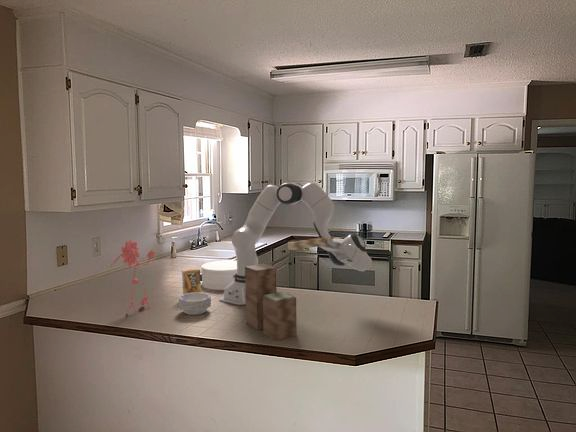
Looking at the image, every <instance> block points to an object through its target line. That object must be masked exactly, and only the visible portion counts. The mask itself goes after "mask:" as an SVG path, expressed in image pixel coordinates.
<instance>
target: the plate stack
mask: <svg viewBox="0 0 576 432" xmlns="http://www.w3.org/2000/svg"><path fill="white" fill-rule="evenodd" d="M200 268H201V282H202V283H201V287H203V288H205V289H206V290H207V289H208V290H213V291H217V290H218V291H224V290H225V288H226V287H227V286H228V285H229V284H231V283H232V282H233V281H234V279H235V277H234V275H235V274H237V259H235V260H232V259H226V260H225V259H224V260H215V261H209V262H206V263H203V264H202V265H201V267H200ZM233 277H234V278H233Z"/></svg>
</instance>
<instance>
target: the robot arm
mask: <svg viewBox="0 0 576 432" xmlns="http://www.w3.org/2000/svg"><path fill="white" fill-rule="evenodd" d="M300 203H304V204H305V205H306V207H307V208H308V209H309V211H310V212H311V214H312V216H313V227H314V229H315V231H316V233H317V235H318V238H323V237H331V235H330V233H329V229H328V228H329V227H328V226H329V224H330V221H331V219H332V218H333V215H334V213H335V204H334V202H333V200H332V199H331V198H330V196H329V195H328V194H327V193H326V191H325V190H324V189H323V188H322V187H320V186H319V185H318V184H317V183H316V182H308V183H306V184H305V185H302V184H300V183H298V182H294V181H291V182H285V183H282V184H281V185H279V186H277V185H275V184H269V185H266V187H264V189H263V190H261V192H260V193H259V195H258V196H257V198H256V200H255V202H254V203H253V205H252V206H251V208H250V210H249V212H248V215H247V218H246V220H245V222H244V224H243V225H242V226H241V227H240V228H238V229H236V230H235V231H234V232H233V234H232V237H231V244H232V246H233V247H234V252H235V253H234V254H235V258H236V259H235V260H237V274H235V275H234V277H235V279H234V281H233V282H232V283H231V284H229V285H228V286H227V287H226V288H225V290H223V295H222V296H220V297H219V301H220V302H223V303H224V302H225V303H227V304H232V305H237V306H238V305H239V306H242V305H246V292H245V266H251V265H258V264H259V257H258V256H257V251H256V244H259V241H260V240H261V237H263V236H262V235H263V233H265V230H266V228H267V225H268V224H269V222H270V220H271V218H272V217H273V215H274V213H275V212H276V210H277V208H278V207H279V205H281V204H283V205H286V206H292V205H297V204H300ZM326 243H327V244H329V245H324V246H318V247H319V248H321V249H323V250H325V251H326V253H327V255H328V257H329V259H330V262H331V263H332V264H333V265H335V266H340V267H344V266H345V265H348V266H349V267H351V268H353V269H354V270H355V271H359V272H366V271H367V270H369V268H370V267H371V266H372V263H373V259H372V257H371V256H369V255H368V253H367V251H366V242H365V240H364V239H363V237H362V236H360V235H359V234H356V233H350V234H349V235H347V236H346V237H345V238H343V239H342V240H341V241H340V242H338V241H334V240H333V241H331V240H328V239H327V240H326ZM234 277H233V278H234Z"/></svg>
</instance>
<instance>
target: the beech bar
mask: <svg viewBox="0 0 576 432" xmlns="http://www.w3.org/2000/svg"><path fill="white" fill-rule="evenodd" d="M327 239H328V240H331V241H334V240H333V239H334V238H333V237H323V238H320V237H317V238H311V239H303V240H295V241H288V242H287V250H290V251H297V250H302V249H309V248H316V247H319V246H324V245H329V244H327V243H326V240H327Z"/></svg>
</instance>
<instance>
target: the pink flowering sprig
mask: <svg viewBox="0 0 576 432" xmlns="http://www.w3.org/2000/svg"><path fill="white" fill-rule="evenodd" d="M137 245H138V241H136V240H135V241H133V240H132V239H129V240H125V244H124V246H121V253H120V255H118V257H117V258H115V260H114V261H113V262H112V264H111V265H110V266H111V267H112V266H114V264H116V262H117V261H118V260H119V259H120V258H121V257H122V258H123V260H122V261H123V264H127V266H128V267H129V269H132V268H133V279H132V281H131V282H132V284H131V290H130V291H131V293H130V294H131V297H130V298H131V302H130V305H129V306H128V307H129V308H128V309H127V311H126V313H128V312H129V311H130V309H131V307H132V306H133V309H134V312H135V313H136V315H139V314H138V313H139V312H138V311H137V309H136V307H135V304H134V300H133V288H134V287H133V286H134V285H136V284H138V283H139V284H142V285H146V283H145V282H141V281H139V280H138V279H137V278H135V277H136V268H137V267H138V266H140V265H141V266H148V264H149V262H150V261H151V259H153V258H154V256H155V254H156V252H155V251H154V250H152V249H151V250H150V251H149V252H147V259H148V260H147V263H141V262H140V263H139V260H138V259H139V258H140V252H139V247H138V246H137ZM143 296H144V297H142V299H141V300H140V305H141V306H142V307H143V306H145V304H147V306H148V309H151V307H150V304H149V302H148V299H149V298H148V296H147V295H146V291H144V295H143ZM156 305H158V306H159V305H160V304H159V303H158V304H156Z"/></svg>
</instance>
